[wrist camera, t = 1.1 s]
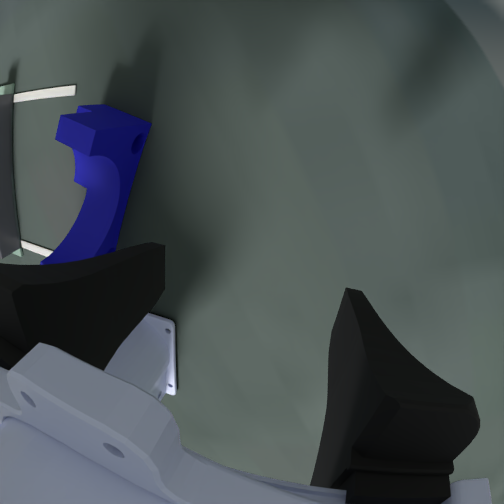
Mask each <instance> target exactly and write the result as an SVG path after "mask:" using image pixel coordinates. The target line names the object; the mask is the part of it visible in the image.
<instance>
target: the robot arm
mask: <svg viewBox="0 0 504 504" xmlns="http://www.w3.org/2000/svg"><path fill="white" fill-rule="evenodd" d="M164 289H165V245H161V244H157V243H153V242H151V243H144V244H140V245H136V246H132V247H129V248H125V249H122V250H118V251H115V252H111V253H107V254H103V255H99V256H96V257H92V258H88V259H83V260H78V261H72V262H65V263H56V264H45V265H14V264H2V263H0V504H492V500H491V493H490V487H489V481H488V478H478V479H466V480H459V481H456V482H453V483H451V484H450V481H449V475H451V474H452V473H453V471H454V465H453V460H454V459H455V458H456V457H457V456H458V455H459V454H460V453H461V452H462V451H463V450H464V449H465V448H466V447H467V446H468V445H469V444H470V443H471V442H472V440H473V439H474V438H475V436H476V435H477V433H478V431H479V428H480V418H479V415H478V411H477V408H476V405H475V401H474V398H473V397H472V396H470V395H468V394H467V393H465V392H463V391H461V390H459V389H457V388H456V387H454V386H452V385H450V384H449V383H447V382H446V381H444V380H443V379H441V378H440V377H438V376H437V375H436V374H434V373H433V372H432V371H430V370H429V369H428V368H426V367H425V366H424V365H423V364H422V363H420V362H419V361H418V360H417V359H416V358H415V357H414V356H412V355H411V354H410V353H409V352H408V351H407V350H406V349H405V348H404V346H403V345H402V344H401V343H400V342H399V341H398V340H397V339H396V338H395V337H394V335H393V334H392V333H391V332H390V330H389V329H388V328H387V327H386V325H385V324H384V323H383V321H382V320H381V319H380V317H379V316H378V314H377V313H376V311H375V310H374V309H373V307H372V306H371V304H370V303H369V301H368V300H367V298H366V297H365V295H364V294H363V292H362V291H359V290H355V289H350V288H346V289H345V292H344V295H343V298H342V302H341V305H340V308H339V311H338V314H337V317H336V320H335V323H334V326H333V329H332V333H331V340H330V347H329V358H328V396H327V409H326V415H325V421H324V427H323V432H322V437H321V442H320V447H319V451H318V456H317V460H316V464H315V468H314V472H313V476H312V480H311V484H310V485H304V484H298V483H293V482H288V481H283V480H278V479H273V478H269V477H264V476H260V475H256V474H252V473H248V472H244V471H240V470H237V469H233V468H229V467H226V466H223V465H221V464H219V463H217V462H215V461H212V460H210V459H208V458H206V457H204V456H202V455H200V454H198V453H196V452H194V451H192V450H190V449H188V448H186V447H184V446H182V445H181V443H180V431H179V428H178V426H177V424H176V422H175V419H174V417H173V415H172V413H171V411H170V410H169V409H168V408H166V407H165V406H164V405H163V404H162V403H161V402H160V401H161V400H162V398H163V396H164V395H165V393H168V394H170V395H175V394H176V392H177V384H176V354H175V324H174V322H173V321H172V320H170V319H166V318H163V317H160V316H157V315H154V314H151V313H149V311H150V310H151V309H152V308H153V307H154V305H155V304H156V302H157V301H158V299H159V297H160V296H161V294H162V293H163V291H164ZM168 329H169V330H170V331H169V330H168Z"/></svg>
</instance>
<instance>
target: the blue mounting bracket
mask: <svg viewBox="0 0 504 504" xmlns="http://www.w3.org/2000/svg"><path fill="white" fill-rule="evenodd" d="M150 127H151V123H149V122H147V121H144V120H142V119H140V118H137V117H135V116H132V115H130V114H127V113H125V112H122V111H120V110H117V109H115V108H112V107H110V106H107V105H105V104H101V105H83V106H78V109H77V113H75V114H66V115H61V116H60V120H59V124H58V129H57V133H56V138H55V140H57V141H59V142H61V143H63V144H65V145H67V146H69V147H71V148H72V149H73V152H74V156H75V178H74V181H75V182H77V183H78V184H80V185H82V186H84V187H85V188H87V193H86V196H85V200H84V203H83V205H82V208H81V211H80V213H79V215H78V217H77V219H76V221H75V223H74V225H73V227H72V228H71V230H70V231H69V233H68V234H67V236H66V237H65V239H64V240H63V241H62V243H61V244H60V245H59V246H58V247H57V248H56V249H55V250H54V251H53V252H52V253H51V254H50V255H49V256H48V257H47V258H45V259H44V260H43V261H41V263H40V265H45V264H56V263H65V262H72V261H78V260H83V259H88V258H92V257H96V256H99V255H103V254H107V253H111V252H115V250H116V246H117V241H118V237H119V233H120V229H121V225H122V220H123V217H124V213H125V209H126V205H127V201H128V198H129V194H130V190H131V187H132V183H133V180H134V177H135V173H136V170H137V167H138V163H139V160H140V157H141V154H142V151H143V148H144V145H145V142H146V139H147V136H148V133H149V130H150Z"/></svg>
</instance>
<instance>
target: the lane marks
mask: <svg viewBox="0 0 504 504" xmlns="http://www.w3.org/2000/svg"><path fill="white" fill-rule="evenodd" d="M75 94H76V85H74V86H65V87H57V88H49V89H43V90H36V91H30V92H24V93H19V94H14V102H20V101H27V100H34V99H42V98H50V97H60V96H71V95H75ZM21 244H22V247H23V248H25V249H28V250H30V251H33V252H36V253H38V254H41V255H44V256H47V257H48V256H49V255H50V254H51V253H52V252H53V251H51V250H48V249H45V248H43V247H40V246H37V245H34V244H31V243H28V242H26V241H23V240H21Z"/></svg>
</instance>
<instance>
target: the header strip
mask: <svg viewBox="0 0 504 504" xmlns="http://www.w3.org/2000/svg"><path fill="white" fill-rule="evenodd" d="M14 85H15V84H9V85H5V86H1V87H0V258H2V259H3V258H4V257H6V256H8V255H9V254H11V253H13V254H16V255H18V256H20V257H22V256H23V251H22V245H21V239H20V233H19V226H18V218H17V210H16V200H15V189H14V175H13V151H12V123H13V99H14Z"/></svg>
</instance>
